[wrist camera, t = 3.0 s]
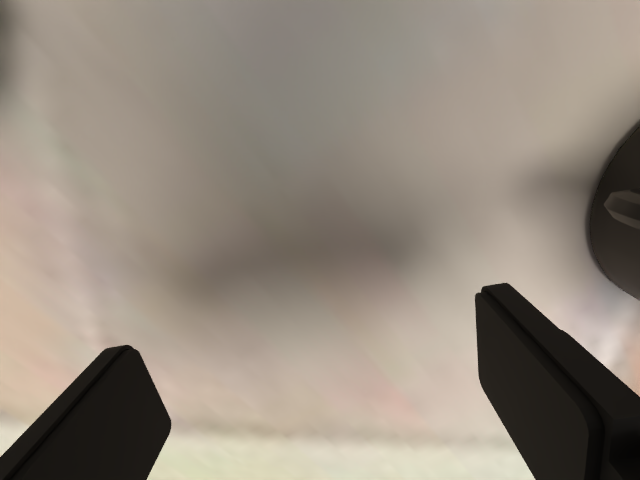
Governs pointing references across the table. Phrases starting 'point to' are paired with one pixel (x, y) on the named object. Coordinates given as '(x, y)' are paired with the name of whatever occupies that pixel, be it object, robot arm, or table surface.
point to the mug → (619, 218)
